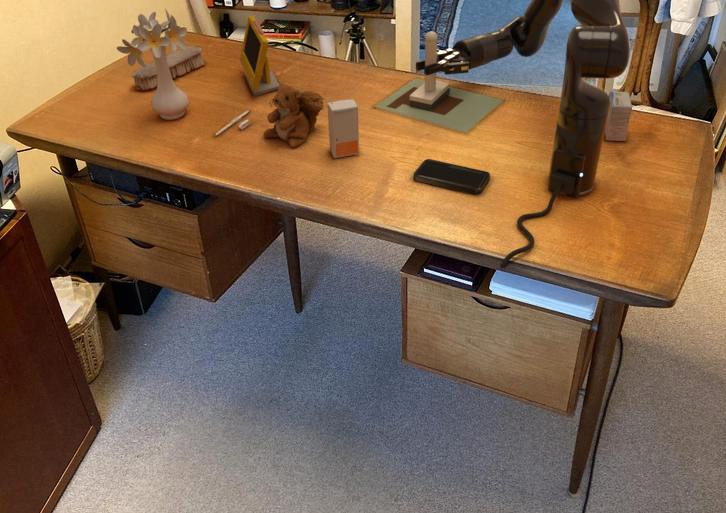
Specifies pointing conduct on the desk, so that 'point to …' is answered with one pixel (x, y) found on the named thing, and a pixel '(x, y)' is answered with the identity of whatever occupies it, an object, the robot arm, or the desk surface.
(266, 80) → the yellow framed monitor
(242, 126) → the pen with cap
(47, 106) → the desk surface
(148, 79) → the shoe brush
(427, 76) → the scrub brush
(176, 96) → the flower vase
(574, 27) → the robot arm
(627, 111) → the medicine box
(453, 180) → the phone
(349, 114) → the cosmetic box
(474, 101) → the desk mat
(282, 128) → the stuffed squirrel
